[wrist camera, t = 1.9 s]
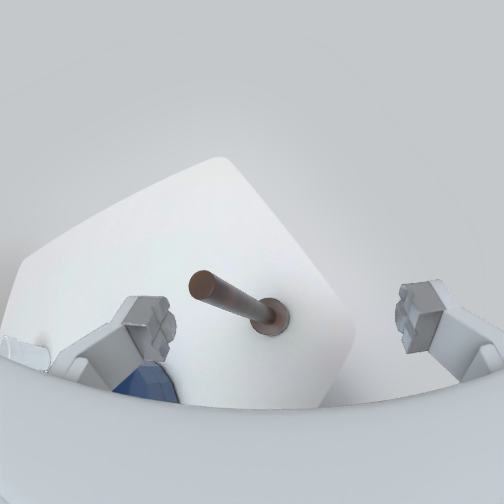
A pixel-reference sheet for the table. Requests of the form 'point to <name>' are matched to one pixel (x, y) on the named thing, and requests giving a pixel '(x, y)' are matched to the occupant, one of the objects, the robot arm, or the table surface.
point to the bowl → (148, 384)
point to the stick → (240, 303)
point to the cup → (25, 353)
